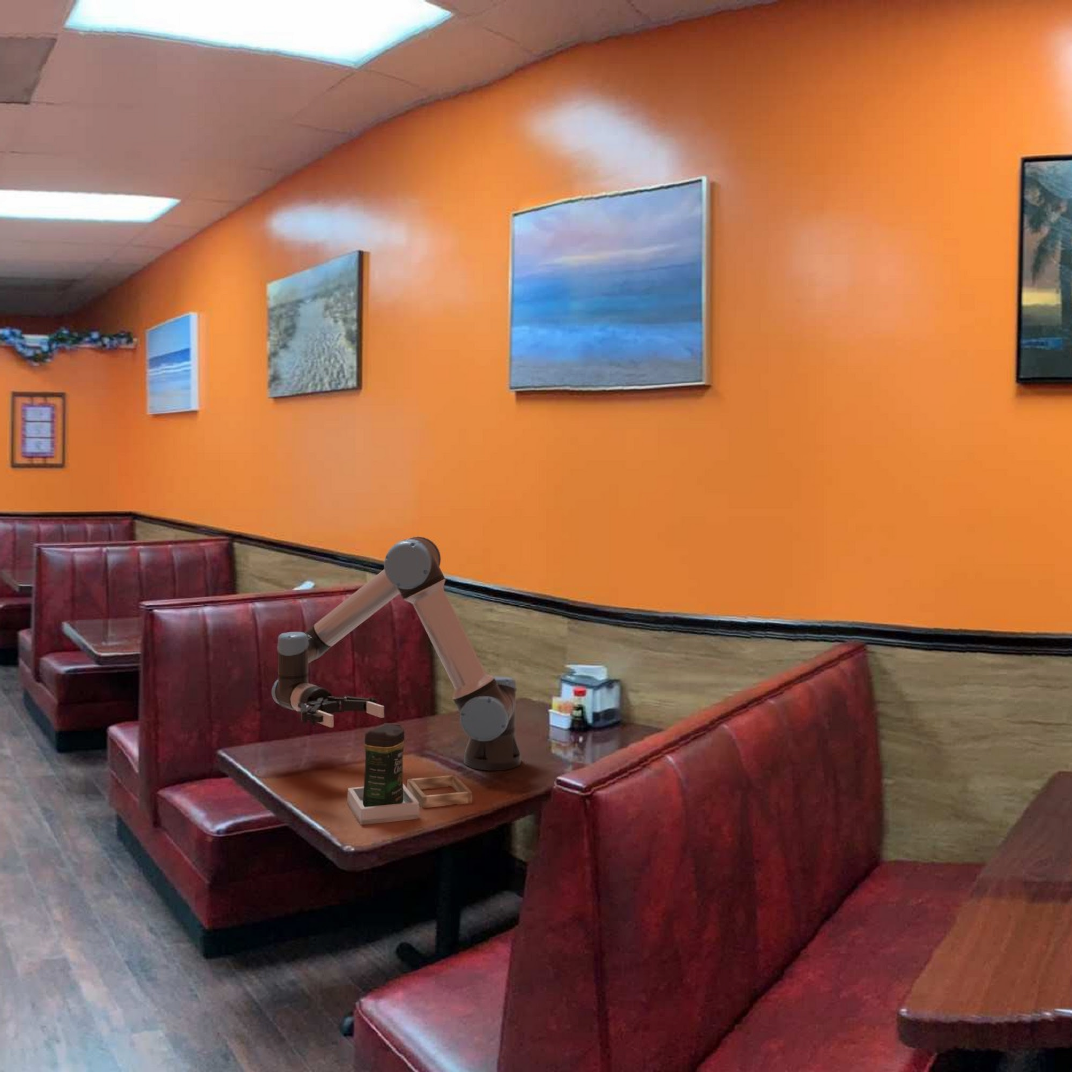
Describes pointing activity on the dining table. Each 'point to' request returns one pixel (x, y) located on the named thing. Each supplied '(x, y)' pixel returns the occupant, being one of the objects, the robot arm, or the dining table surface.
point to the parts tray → (383, 808)
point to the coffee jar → (383, 765)
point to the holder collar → (440, 799)
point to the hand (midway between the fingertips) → (357, 716)
